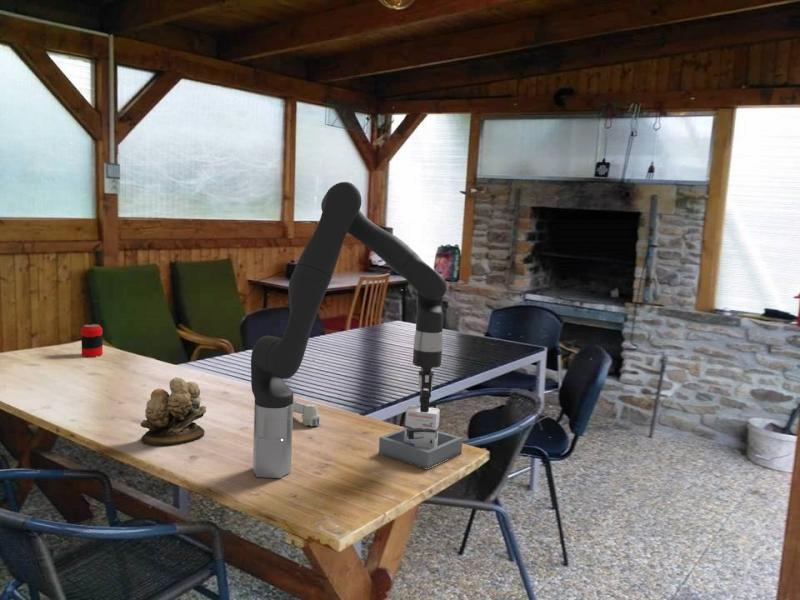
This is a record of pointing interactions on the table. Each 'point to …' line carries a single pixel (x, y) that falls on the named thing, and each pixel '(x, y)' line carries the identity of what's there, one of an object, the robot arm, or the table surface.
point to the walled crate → (399, 450)
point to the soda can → (92, 340)
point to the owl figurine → (173, 415)
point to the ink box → (421, 427)
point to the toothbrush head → (307, 413)
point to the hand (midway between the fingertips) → (423, 407)
